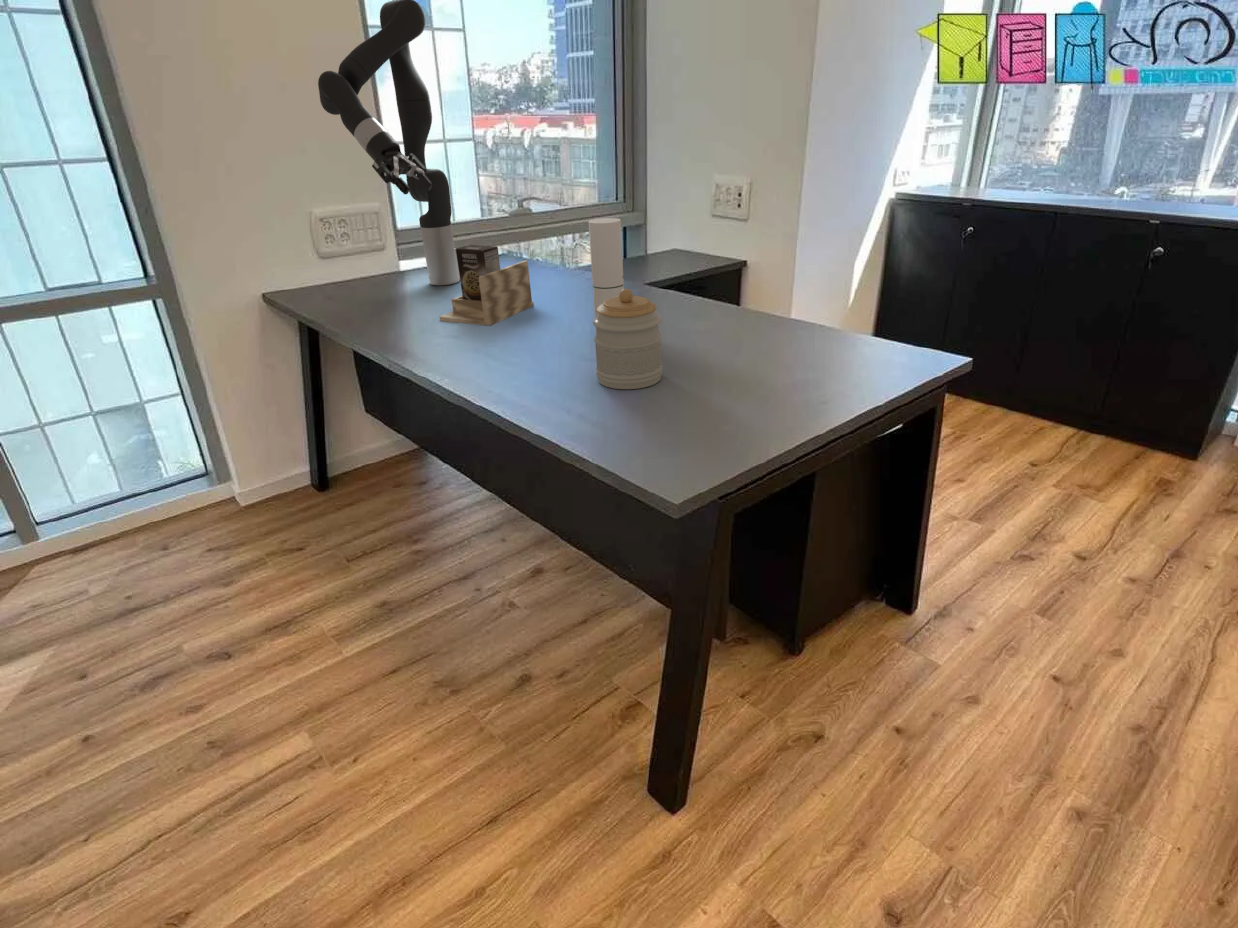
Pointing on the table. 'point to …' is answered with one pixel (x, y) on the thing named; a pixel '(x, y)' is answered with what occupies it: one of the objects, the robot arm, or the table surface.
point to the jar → (628, 342)
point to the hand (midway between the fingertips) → (419, 190)
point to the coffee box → (475, 267)
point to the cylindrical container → (606, 259)
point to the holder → (495, 297)
